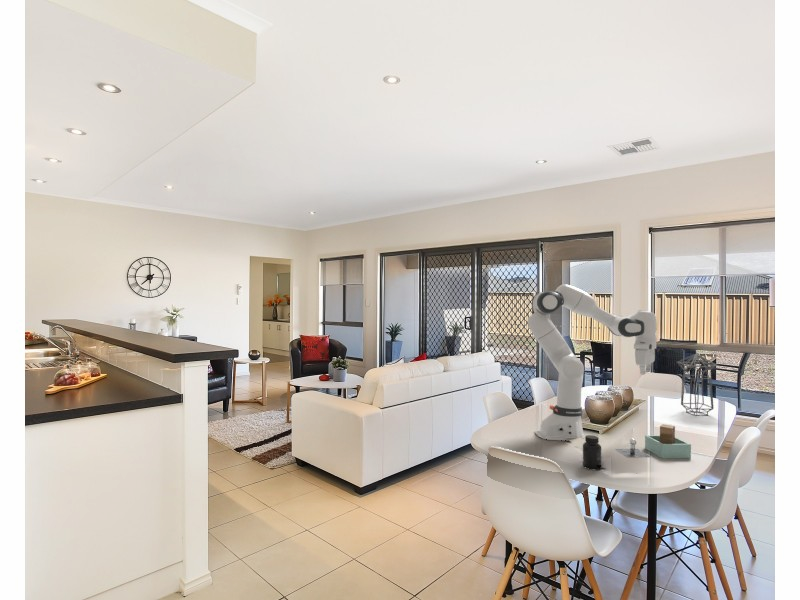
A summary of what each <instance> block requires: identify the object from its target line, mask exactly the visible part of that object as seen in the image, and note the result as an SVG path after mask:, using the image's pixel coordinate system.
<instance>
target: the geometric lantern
mask: <svg viewBox="0 0 800 600" xmlns="http://www.w3.org/2000/svg"><path fill="white" fill-rule="evenodd" d="M685 360H686V361H685ZM701 363H702V366H701ZM676 364H678V366H679V367H680V368H681V370H683V375H682V379H681V381H682V382H681V394H680V395H681V398H680V405H681V406H682V407H683V408H684V409H685V412H686V413H688V415H689V414H690V415H692V416H695V417H696V416H698V417H699V416H700V417H701V416H702V417H703V416H704V417H706V416H709V413H710V412H711V411H712V410H714V407H715V406H714V397H713V396H714V395H713V394H714V393H713V381H712V377H711V376H712V371H711V370H713V369H714V368H715V367H717V366H718V364H716V363H715V362H713V361H710V359H708V358H705V357H704V356H702V355H700V354H697V353H695V354H692V355H690V356H687V357H684V358H682V359H680V360H679V361H676ZM697 364H698V365H697ZM689 368H690V369H694V370H695V371H696V375H695V377H693V378H692V377H691V376H692V374H690V373H689V371H688V370H689ZM702 368H705V369H704V370H702ZM708 371H709V372H710V373H708ZM701 373H702V374H701ZM705 373H706V375H707V376H706V375H704V374H705ZM686 378H687V379H690V387H689V389H690V390H689V391H690V392H689V393H690V395H689V402H684V396H685V395H684V394H685V383H686V381H685V380H686ZM696 379H697V392H696ZM692 380H693V381H692ZM700 380H701V393H702V402H699V398H700V397H699V395H700V393H699V392H700ZM704 380H708V385H709V395H710V396H709V397H710V405H708V404H705V401H704V400H705V399H704V398H705V397H704ZM692 382H693V385H692ZM692 387H693V388H694V402H692ZM687 405H689V406H687ZM692 405H695V406H694V407H693V408H692ZM699 405H700V407H699ZM703 405H704V406H706V407H708V408H702V407H703ZM698 413H701V414H698Z"/></svg>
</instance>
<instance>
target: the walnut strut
mask: <svg viewBox="0 0 800 600" xmlns="http://www.w3.org/2000/svg"><path fill="white" fill-rule="evenodd" d="M659 435H660V442H661V443H662V444H675V437H676V426H675V425H671V424H665V423H662V424H661V425H659Z"/></svg>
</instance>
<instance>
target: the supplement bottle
mask: <svg viewBox="0 0 800 600" xmlns="http://www.w3.org/2000/svg"><path fill="white" fill-rule="evenodd" d="M602 458H603V457H602V445H601V444H600V443H599V437H598V436H597V435H593V434H588V435H584V443H583V444H582V465H583V468H585V467H586V468H585V469H587V468H589V469H588V470H590V469H599V470H601V469H602V465H603V464H602Z"/></svg>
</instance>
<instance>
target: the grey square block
mask: <svg viewBox="0 0 800 600" xmlns="http://www.w3.org/2000/svg"><path fill="white" fill-rule="evenodd" d="M628 442H629V445H630V446H629V447H630V448H615V451H616V452H619V453H620V454H622V455H623V456H625V457H626V458H633V459H634V458H651V456H650V455H648V454H647V453H645V452H644V451H642V450H640V449H638V448H636V445H637V440H636V439H635V438H630V439H629V441H628Z"/></svg>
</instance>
